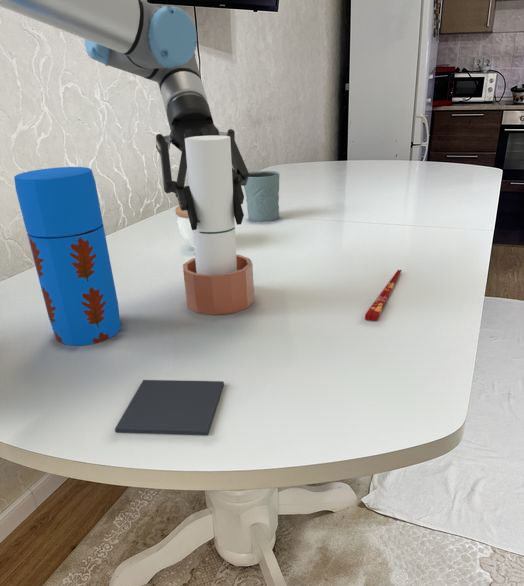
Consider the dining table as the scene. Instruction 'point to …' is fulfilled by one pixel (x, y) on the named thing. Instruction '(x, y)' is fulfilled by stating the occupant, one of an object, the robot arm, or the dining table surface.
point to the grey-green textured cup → (262, 195)
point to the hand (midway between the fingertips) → (217, 222)
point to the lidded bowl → (184, 225)
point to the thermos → (70, 252)
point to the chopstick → (381, 299)
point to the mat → (172, 407)
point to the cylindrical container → (212, 203)
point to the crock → (219, 288)
